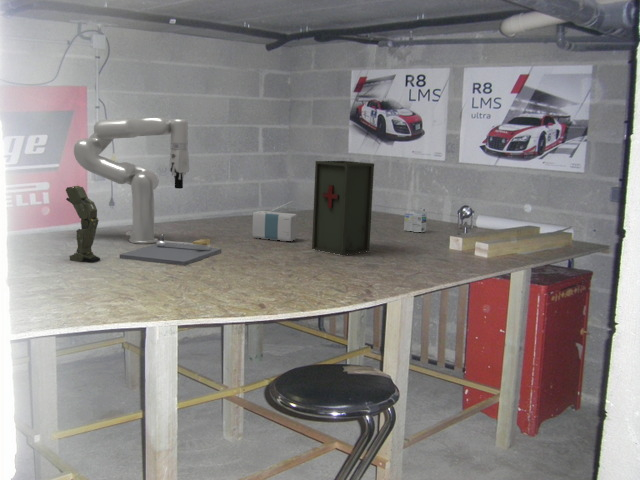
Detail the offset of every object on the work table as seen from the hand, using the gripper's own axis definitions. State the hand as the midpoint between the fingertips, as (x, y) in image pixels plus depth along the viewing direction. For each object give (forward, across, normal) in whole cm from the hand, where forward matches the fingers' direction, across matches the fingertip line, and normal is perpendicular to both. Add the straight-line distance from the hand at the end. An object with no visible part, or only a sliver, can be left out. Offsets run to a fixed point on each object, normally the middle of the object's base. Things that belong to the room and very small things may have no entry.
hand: (178, 188), depth 305 cm
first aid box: (+25, +21, -71) cm, 78 cm away
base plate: (+25, -26, -12) cm, 38 cm away
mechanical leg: (+25, -52, +12) cm, 59 cm away
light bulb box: (+25, +99, -91) cm, 137 cm away
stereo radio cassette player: (+25, +33, -34) cm, 54 cm away
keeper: (+24, -17, -20) cm, 35 cm away
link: (+23, -17, -12) cm, 31 cm away
